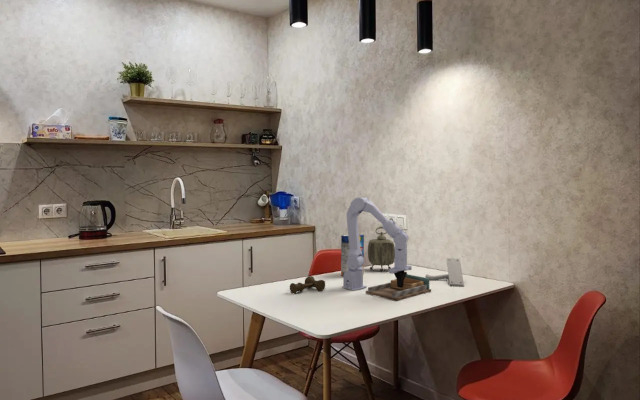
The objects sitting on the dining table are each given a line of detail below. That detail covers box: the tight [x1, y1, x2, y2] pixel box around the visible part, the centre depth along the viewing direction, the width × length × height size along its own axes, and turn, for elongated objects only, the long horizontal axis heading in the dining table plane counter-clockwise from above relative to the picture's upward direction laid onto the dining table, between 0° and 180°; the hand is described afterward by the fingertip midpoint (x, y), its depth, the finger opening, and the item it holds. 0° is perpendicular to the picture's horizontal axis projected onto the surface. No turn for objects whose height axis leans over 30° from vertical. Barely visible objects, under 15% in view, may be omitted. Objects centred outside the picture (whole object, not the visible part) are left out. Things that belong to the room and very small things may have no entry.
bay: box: [365, 273, 432, 302], centre depth 223 cm, size 26×18×6 cm
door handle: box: [424, 257, 465, 287], centre depth 247 cm, size 18×8×20 cm
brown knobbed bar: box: [289, 275, 326, 295], centre depth 226 cm, size 6×10×20 cm
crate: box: [390, 278, 424, 290], centre depth 227 cm, size 10×12×3 cm
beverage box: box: [340, 233, 365, 277], centre depth 260 cm, size 7×11×22 cm, turn 135°
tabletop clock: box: [367, 226, 395, 272], centre depth 274 cm, size 14×9×25 cm, turn 94°
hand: (400, 287), depth 223 cm, fingers closed, pressing on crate
